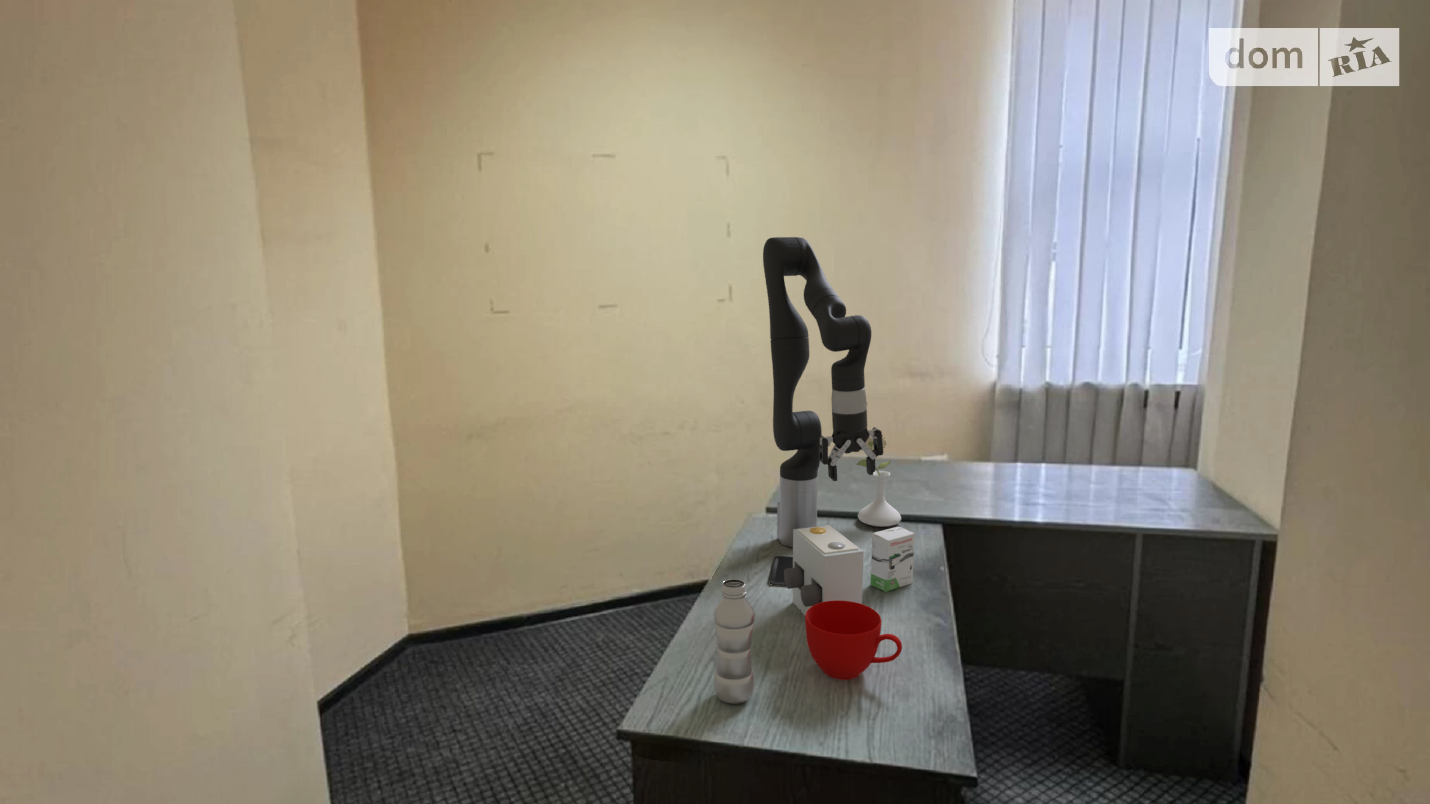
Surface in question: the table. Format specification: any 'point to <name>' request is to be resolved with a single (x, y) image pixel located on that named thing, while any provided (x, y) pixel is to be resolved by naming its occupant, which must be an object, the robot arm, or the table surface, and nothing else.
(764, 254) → the robot arm
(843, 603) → the ceramic cup
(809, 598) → the button
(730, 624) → the plastic bottle
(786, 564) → the phone
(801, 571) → the button
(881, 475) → the flower in vase
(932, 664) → the table surface
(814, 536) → the console
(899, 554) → the ink box
